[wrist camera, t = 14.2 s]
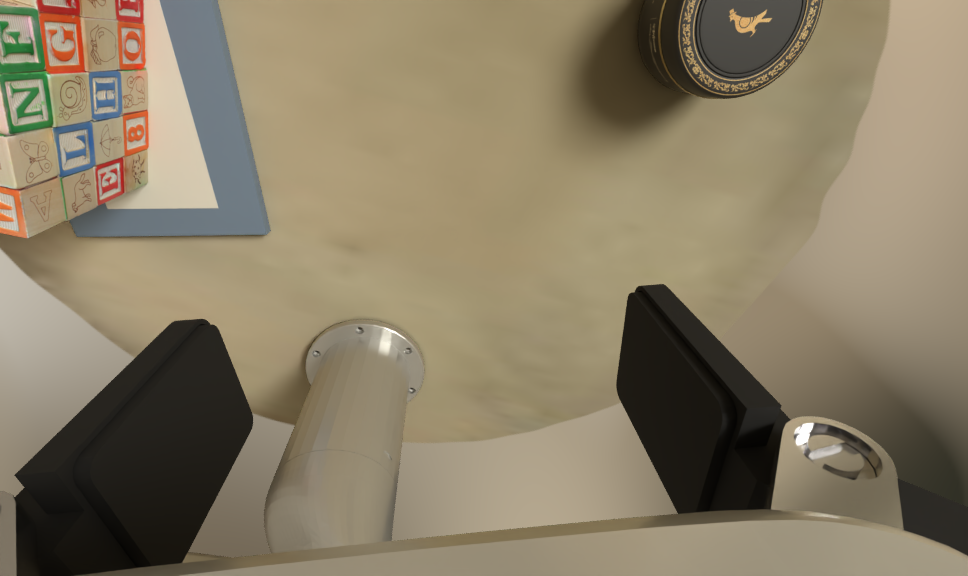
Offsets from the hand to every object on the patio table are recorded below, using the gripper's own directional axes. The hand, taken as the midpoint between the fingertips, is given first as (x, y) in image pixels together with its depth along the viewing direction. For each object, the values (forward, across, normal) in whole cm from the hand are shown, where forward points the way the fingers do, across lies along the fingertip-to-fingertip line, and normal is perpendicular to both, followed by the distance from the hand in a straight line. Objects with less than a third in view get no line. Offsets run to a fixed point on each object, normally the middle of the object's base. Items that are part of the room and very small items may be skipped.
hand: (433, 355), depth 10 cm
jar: (+31, -20, -8) cm, 38 cm away
